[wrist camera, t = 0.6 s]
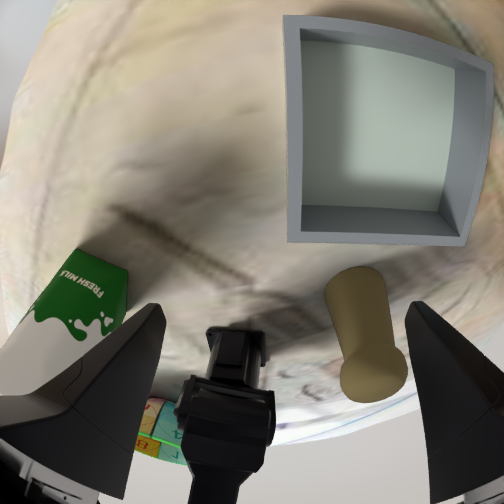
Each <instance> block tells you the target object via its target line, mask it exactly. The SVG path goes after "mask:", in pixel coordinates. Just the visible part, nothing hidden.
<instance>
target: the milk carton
mask: <svg viewBox="0 0 504 504" xmlns="http://www.w3.org/2000/svg"><path fill="white" fill-rule="evenodd" d="M127 280H128V271H126V270H124V269H121V268H119V267H117V266H114V265H112V264H110V263H107V262H105V261H102V260H100V259H98V258H96V257H93V256H91V255H89V254H86V253H84V252H82V251H80V250H77V249H75V250H74V251H73V252H72V254H71V255H70V256H69V257H68V259H67V260H66V261H65V263H64V264H63V265H62V267H61V268H60V269H59V271H58V272H57V273H56V275H55V276H54V278H53V279H52V280H51V282H50V283H49V284H48V286H47V287H46V288H45V289H44V291H43V292H42V293H41V294H40V296H39V297H38V298H37V300H36V301H35V302H34V303H33V305H32V306H31V307H30V309H29V310H28V311H27V313H26V314H25V315H24V317H23V318H22V320H21V321H20V322H19V324H18V325H17V327H16V328H15V329H14V331H13V332H12V334H11V335H10V337H9V338H8V340H7V341H6V343H5V344H4V345H3V347H2V348H1V349H0V395H25V394H29V393H31V392H33V391H35V390H36V389H38V388H39V387H41V386H42V385H44V384H45V383H47V382H48V381H50V380H51V379H52V378H54V377H55V376H57V375H58V374H60V373H61V372H62V371H64V370H65V369H66V368H68V367H69V366H70V365H72V364H73V363H74V362H75V361H77V360H78V359H79V358H80V357H83V355H84V354H85V353H87V352H88V351H89V350H90V349H91V348H93V347H94V346H95V345H96V344H98V343H99V342H100V341H101V340H103V339H104V338H105V337H106V336H108V335H109V334H110V333H111V332H113V331H114V330H115V329H116V328H118V327H119V326H120V325H121V324H122V322H123V319H124V317H125V315H126V301H127Z"/></svg>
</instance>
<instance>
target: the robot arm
mask: <svg viewBox="0 0 504 504" xmlns="http://www.w3.org/2000/svg"><path fill="white" fill-rule="evenodd" d="M405 328H406V334H407V340H408V347H409V354H410V360H411V365H412V369H413V373H414V378H415V382H416V387H417V392H418V397H419V402H420V407H421V413H422V419H423V425H424V432H425V440H426V448H427V457H428V469H429V485H430V504H436V503H440V502H443V501H446V500H448V499H451V498H454V497H457V496H460V495H462V494H463V495H464V501H462V502H460V503H457V504H504V373H503V372H502V371H501V370H500V369H499V368H498V367H497V366H496V365H495V364H493V363H492V362H491V361H490V360H489V359H488V358H487V357H486V356H484V354H483V353H482V352H481V351H479V350H478V349H477V348H476V347H475V346H474V345H473V344H472V343H471V342H470V341H469V340H467V339H466V338H465V337H464V336H463V335H462V334H461V333H459V332H458V331H457V330H456V329H455V328H454V327H453V326H451V325H450V324H449V323H448V322H447V321H446V320H444V319H443V318H442V317H441V316H440V315H439V314H437V313H436V312H435V311H434V310H433V309H431V308H430V307H429V306H428V305H427V304H425V303H424V302H423V301H413V302H411V304H410V306H409V309H408V312H407V314H406V317H405ZM165 329H166V318H165V315H164V313H163V310H162V308H161V305H160V304H158V303H148V304H147V305H146V306H144V307H143V308H142V309H140V310H139V311H138V312H137V313H135V314H134V315H133V316H132V317H130V318H129V319H128V320H127V321H125V322H124V323H123V324H121V325H120V326H119V327H118V328H116V329H115V330H114V331H113V332H111V333H110V334H109V335H108V336H106V337H105V338H104V339H103V340H101V341H100V342H99V343H98V344H96V345H95V346H94V347H93V348H91V349H90V350H89V351H88V352H87V353H85V354H84V355H83V357H80V358H79V359H78V360H77V361H75V362H74V363H73V364H72V365H70V366H69V367H68V368H66V369H65V370H64V371H62V372H61V373H60V374H58V375H57V376H55V377H54V378H52V379H51V380H50V381H48V382H47V383H45V384H44V385H42V386H41V387H39V388H38V389H36V390H35V391H33V392H31V393H29V394H25V395H0V504H100V502H99V501H98V496H99V492H101V493H104V494H106V495H109V496H112V497H115V498H118V499H121V500H123V498H124V493H125V489H126V484H127V479H128V475H129V471H130V466H131V461H132V458H133V453H134V449H135V445H136V441H137V437H138V433H139V429H140V426H141V422H142V418H143V414H144V411H145V407H146V404H147V400H148V397H149V393H150V390H151V386H152V383H153V379H154V376H155V373H156V369H157V366H158V363H159V359H160V354H161V349H162V344H163V339H164V334H165ZM206 337H207V340H208V344H209V348H210V351H211V356H210V360H209V364H208V368H207V372H206V376H205V378H201V377H197V376H196V375H192V374H191V377H190V379H189V380H186V381H184V384H183V388H182V391H181V394H180V397H179V399H178V401H177V403H176V406H175V408H174V411H173V414H174V415H175V417H176V418H177V423H178V425H177V430H180V431H183V436H182V441H181V450H182V453H183V455H184V458H185V460H186V463H187V465H188V468H189V470H190V472H191V474H192V477H193V481H192V485H191V490H190V495H189V500H188V504H236V502H237V497H238V492H239V487H240V485H241V484H242V483H243V482H244V481H245V480H246V479H247V478H248V477H249V476H250V475H251V474H252V473H256V472H257V471H258V470H259V469H260V468H261V466H262V465H263V463H264V455H265V451H266V446H267V447H268V446H270V445H271V443H272V440H273V437H274V433H275V428H276V411H275V395H274V391H271V390H269V391H266V390H260V389H258V383H259V373H260V367H264V366H265V364H266V357H265V334H264V333H263V332H250V331H231V330H216V329H208V330H207V331H206Z"/></svg>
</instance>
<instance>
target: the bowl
mask: <svg viewBox="0 0 504 504" xmlns="http://www.w3.org/2000/svg"><path fill="white" fill-rule="evenodd" d="M175 406H176V403H173V402H171V401H168V400H165V399H160V398H151V399H148V400H147V404H146V407H145V411H144V414H143V418H142V422H141V426H140V429H139V433H138V437H137V441H136V445H135V449H134V450H135V451H138V452H141V453H143V454H146V455H148V456H151V457H154V458H157V459H161V460H164V461H168V462H172V463H176V464H181V465H187V463H186V460H185V458H184V455H183V453H182V450H181V441H182V436H183V431H180V430H177V425H178V423H177V418H176V417H175V415H174V414H173V411H174V408H175ZM187 466H188V465H187Z"/></svg>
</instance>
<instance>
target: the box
mask: <svg viewBox="0 0 504 504" xmlns="http://www.w3.org/2000/svg"><path fill="white" fill-rule="evenodd" d="M283 47H284V68H285V95H286V137H287V242H293V243H349V244H392V245H429V246H460V247H465V244H466V241H467V238H468V235H469V232H470V229H471V225H472V222H473V219H474V215H475V212H476V208H477V204H478V201H479V197H480V193H481V188H482V184H483V179H484V174H485V169H486V164H487V158H488V152H489V145H490V138H491V129H492V119H493V104H494V64H492V63H490V62H488V61H486V60H484V59H482V58H480V57H477V56H475V55H473V54H471V53H468V52H466V51H464V50H461V49H459V48H456V47H454V46H451V45H449V44H446V43H443V42H440V41H437V40H435V39H432V38H428V37H425V36H422V35H419V34H415V33H412V32H408V31H404V30H401V29H396V28H392V27H388V26H383V25H378V24H373V23H368V22H362V21H356V20H349V19H341V18H332V17H320V16H303V15H283Z"/></svg>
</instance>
